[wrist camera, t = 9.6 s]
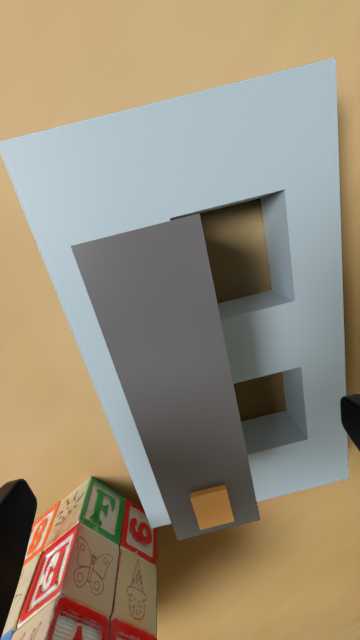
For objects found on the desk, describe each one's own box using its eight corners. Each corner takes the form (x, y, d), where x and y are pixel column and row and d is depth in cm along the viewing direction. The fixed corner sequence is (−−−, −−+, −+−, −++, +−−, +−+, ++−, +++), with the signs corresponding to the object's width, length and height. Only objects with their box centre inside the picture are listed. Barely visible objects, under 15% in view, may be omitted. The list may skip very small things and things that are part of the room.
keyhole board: (30, 162, 11) (-5, 142, 9) (298, 94, 11) (335, 57, 9) (152, 489, 18) (151, 528, 15) (323, 445, 18) (348, 478, 15)
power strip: (109, 241, 12) (67, 246, 7) (181, 223, 12) (200, 212, 7) (171, 437, 16) (178, 546, 10) (225, 424, 16) (261, 524, 10)
